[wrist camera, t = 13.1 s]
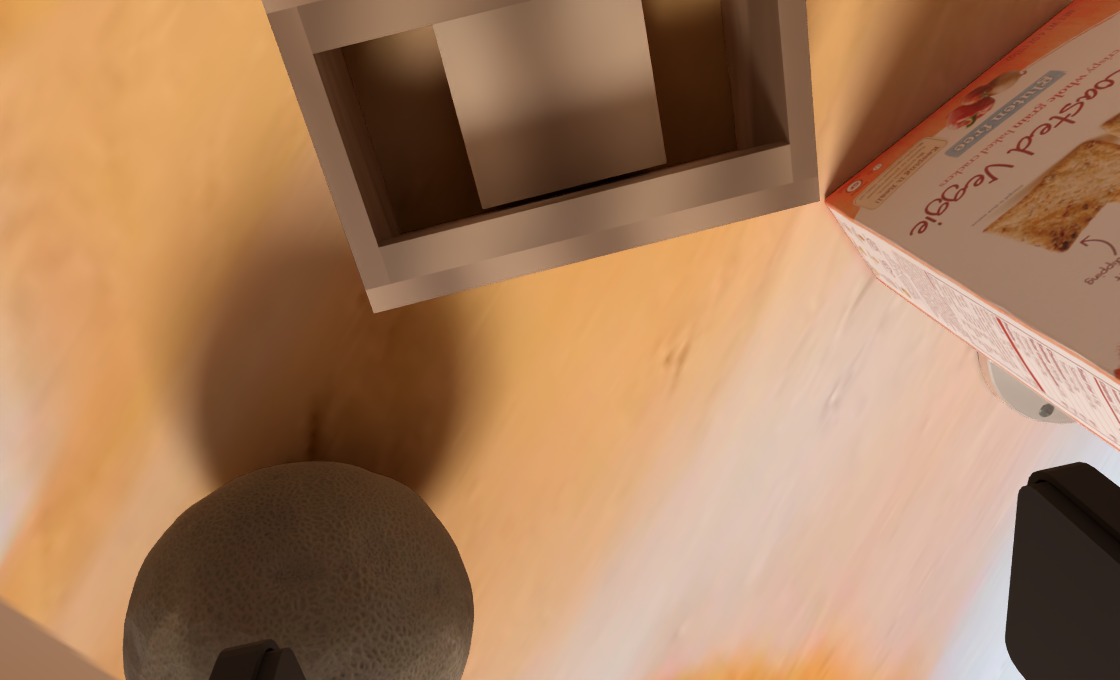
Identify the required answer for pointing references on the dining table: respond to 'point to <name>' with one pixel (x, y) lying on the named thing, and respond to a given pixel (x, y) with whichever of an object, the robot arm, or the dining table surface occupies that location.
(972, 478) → the dining table surface
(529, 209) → the crate
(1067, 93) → the cracker box
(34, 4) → the dining table surface
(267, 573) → the dark grey rounded lump
